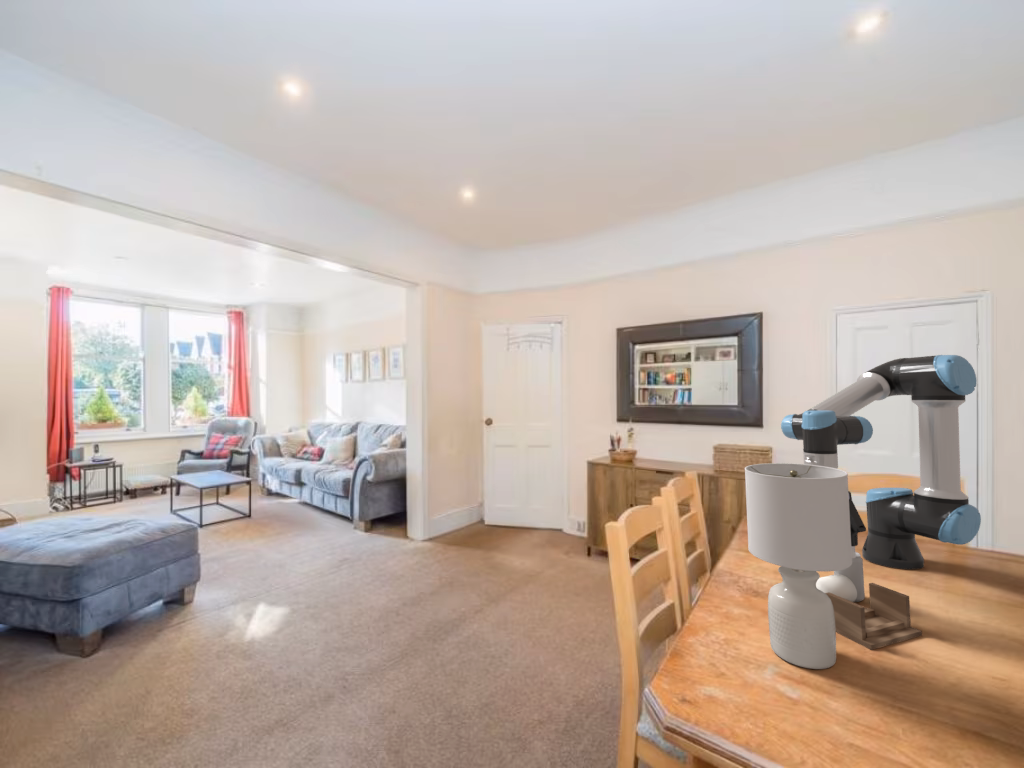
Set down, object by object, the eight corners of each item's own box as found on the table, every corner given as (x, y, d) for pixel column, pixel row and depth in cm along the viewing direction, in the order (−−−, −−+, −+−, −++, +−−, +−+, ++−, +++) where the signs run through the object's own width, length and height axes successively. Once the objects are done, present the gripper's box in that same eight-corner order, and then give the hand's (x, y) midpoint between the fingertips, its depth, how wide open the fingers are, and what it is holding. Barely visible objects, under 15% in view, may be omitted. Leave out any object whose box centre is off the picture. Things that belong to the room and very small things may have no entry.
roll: (827, 589, 123) (834, 568, 121) (853, 608, 117) (860, 586, 115) (802, 595, 121) (808, 573, 119) (826, 615, 114) (834, 592, 112)
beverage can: (870, 603, 117) (867, 557, 118) (842, 602, 119) (840, 556, 119) (856, 593, 123) (854, 548, 124) (830, 591, 125) (828, 548, 125)
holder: (866, 611, 113) (864, 579, 114) (921, 635, 102) (919, 599, 102) (818, 623, 109) (816, 589, 109) (871, 649, 97) (869, 612, 97)
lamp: (737, 631, 106) (729, 464, 107) (818, 630, 106) (810, 462, 106) (782, 683, 87) (773, 479, 88) (882, 681, 87) (871, 476, 88)
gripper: (769, 463, 130) (772, 537, 130) (859, 477, 107) (863, 568, 106) (789, 461, 133) (792, 534, 132) (881, 475, 109) (885, 563, 108)
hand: (824, 549), depth 119 cm, fingers open, 13 cm apart
